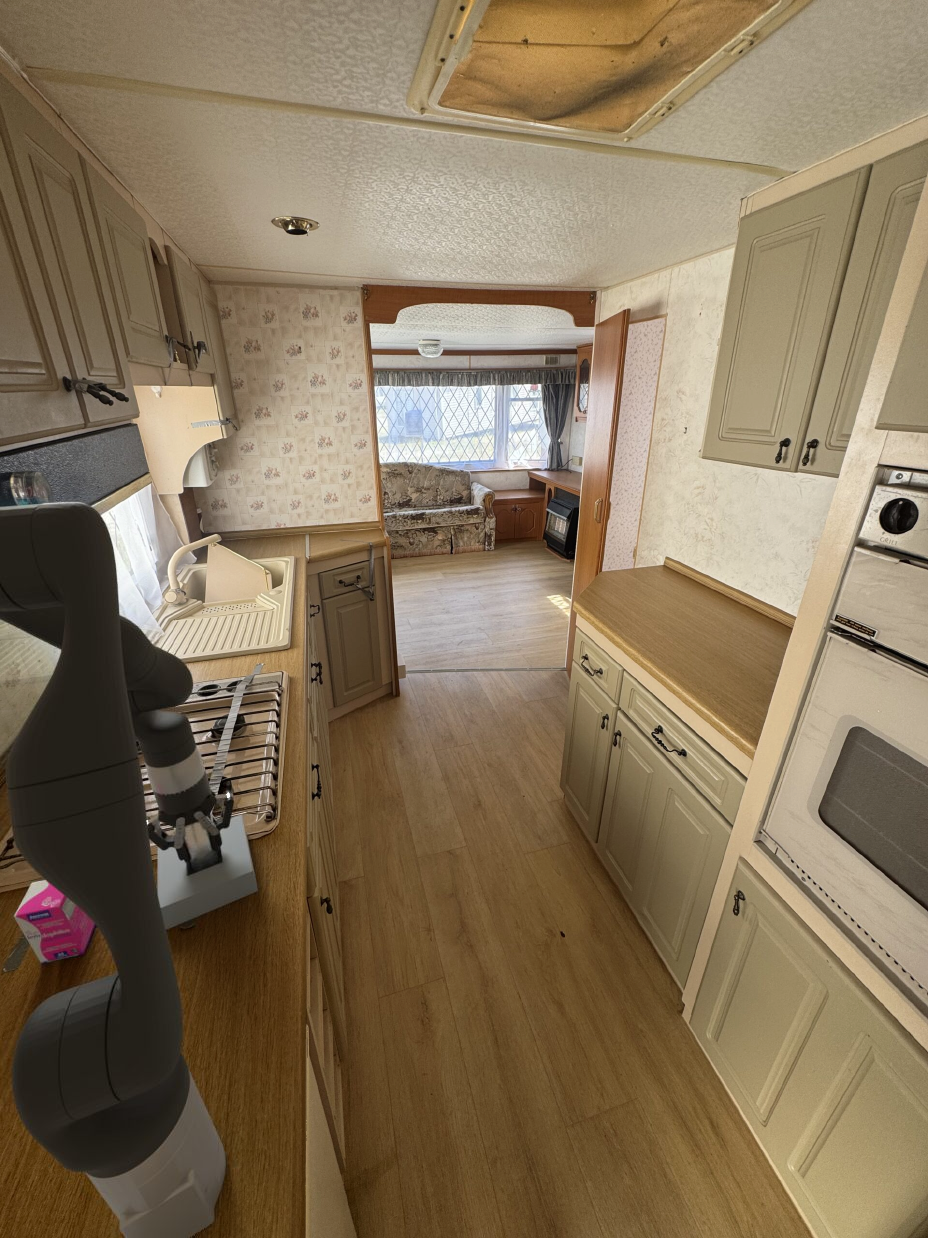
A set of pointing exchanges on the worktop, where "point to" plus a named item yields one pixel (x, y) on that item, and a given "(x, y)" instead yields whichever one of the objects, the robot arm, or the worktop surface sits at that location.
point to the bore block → (206, 878)
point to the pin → (199, 847)
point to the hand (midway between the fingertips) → (202, 852)
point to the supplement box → (53, 923)
